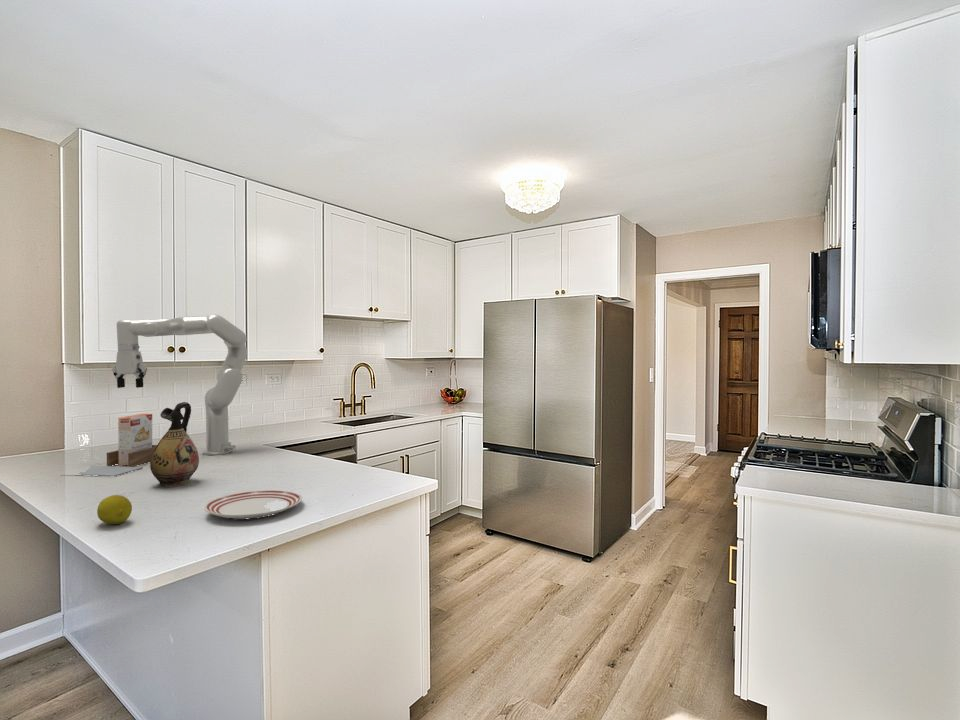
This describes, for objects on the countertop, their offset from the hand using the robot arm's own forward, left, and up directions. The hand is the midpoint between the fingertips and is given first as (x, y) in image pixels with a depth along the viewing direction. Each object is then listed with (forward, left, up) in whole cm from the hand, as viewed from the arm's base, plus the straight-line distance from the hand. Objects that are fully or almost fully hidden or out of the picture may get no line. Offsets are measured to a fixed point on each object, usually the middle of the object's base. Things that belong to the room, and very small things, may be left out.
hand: (130, 387), depth 220 cm
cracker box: (-2, -1, -33) cm, 34 cm away
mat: (-2, +16, -33) cm, 37 cm away
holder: (-2, -1, -33) cm, 33 cm away
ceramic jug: (-45, +28, -33) cm, 63 cm away
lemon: (-59, +70, -33) cm, 98 cm away
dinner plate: (-92, +54, -34) cm, 112 cm away
